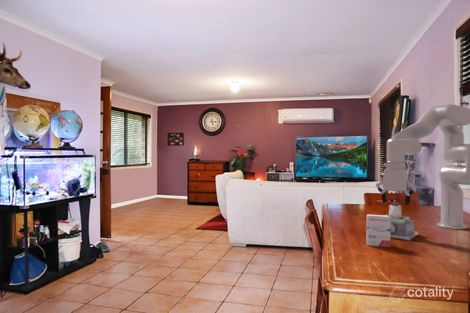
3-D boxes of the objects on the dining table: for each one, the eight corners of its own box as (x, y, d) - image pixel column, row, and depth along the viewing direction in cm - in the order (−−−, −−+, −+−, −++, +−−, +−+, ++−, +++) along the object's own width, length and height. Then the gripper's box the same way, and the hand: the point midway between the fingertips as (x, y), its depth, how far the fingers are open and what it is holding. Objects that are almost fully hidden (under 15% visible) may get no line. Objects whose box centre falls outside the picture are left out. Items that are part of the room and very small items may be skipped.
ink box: (389, 244, 133) (389, 215, 133) (390, 247, 128) (391, 217, 128) (365, 242, 135) (366, 213, 135) (366, 245, 131) (367, 215, 131)
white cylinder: (390, 219, 155) (391, 201, 154) (402, 220, 151) (402, 203, 151) (387, 220, 151) (387, 203, 151) (399, 222, 147) (399, 204, 147)
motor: (380, 228, 162) (380, 212, 162) (418, 234, 151) (418, 217, 151) (368, 234, 150) (369, 216, 150) (408, 240, 139) (408, 222, 139)
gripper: (373, 165, 154) (373, 202, 154) (414, 166, 143) (414, 206, 143) (378, 165, 160) (378, 200, 160) (419, 166, 148) (418, 204, 148)
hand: (395, 203), depth 151 cm, fingers open, 9 cm apart
